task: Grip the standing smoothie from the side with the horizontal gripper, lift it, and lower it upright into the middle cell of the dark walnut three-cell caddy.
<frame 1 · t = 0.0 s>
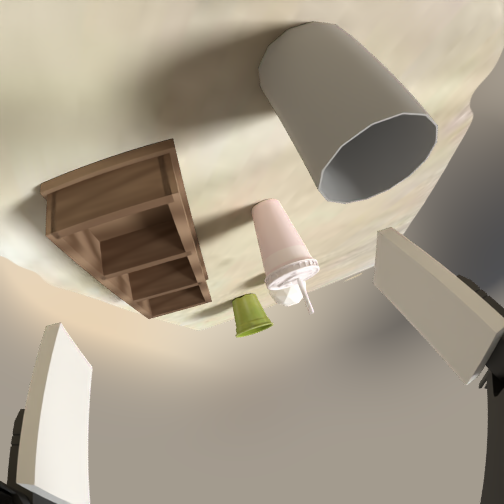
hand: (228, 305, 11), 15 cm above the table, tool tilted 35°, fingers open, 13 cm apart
caddy: (148, 243, 36), on the table
smoothie: (265, 206, 38), on the table
geometric ball: (281, 270, 64), on the table
cup: (309, 65, 20), on the table
plant pot: (243, 297, 75), on the table
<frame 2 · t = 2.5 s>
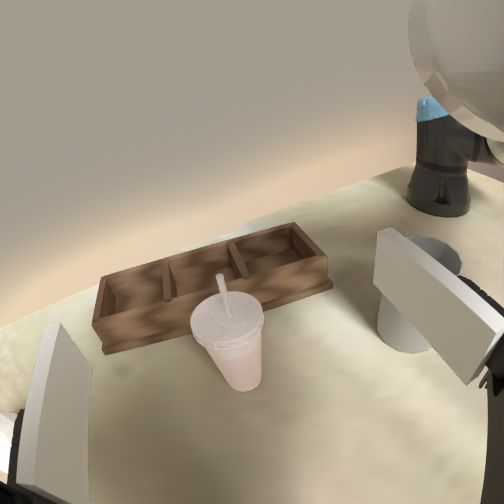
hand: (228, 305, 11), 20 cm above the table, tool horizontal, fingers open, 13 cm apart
caddy: (210, 297, 43), on the table
smoothie: (244, 378, 31), on the table
geometric ball: (31, 459, 21), on the table
cup: (409, 327, 32), on the table
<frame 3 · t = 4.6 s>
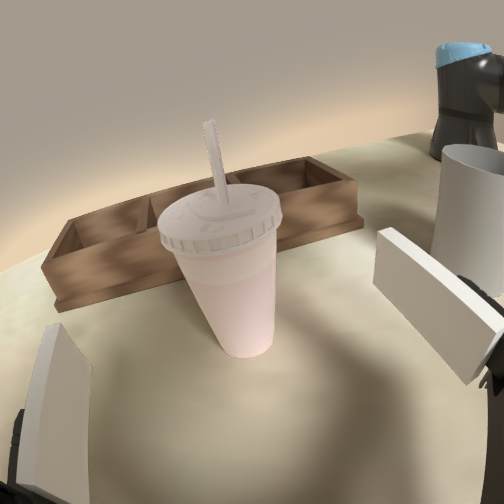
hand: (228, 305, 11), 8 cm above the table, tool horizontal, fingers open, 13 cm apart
caddy: (201, 241, 33), on the table
smoothie: (247, 339, 20), on the table
cup: (469, 270, 22), on the table
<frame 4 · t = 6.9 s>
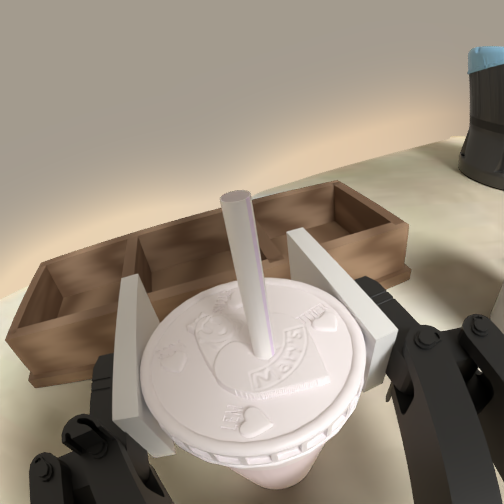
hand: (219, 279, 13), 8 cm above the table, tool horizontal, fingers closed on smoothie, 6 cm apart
caddy: (206, 296, 25), on the table
smoothie: (277, 459, 13), on the table, touching gripper
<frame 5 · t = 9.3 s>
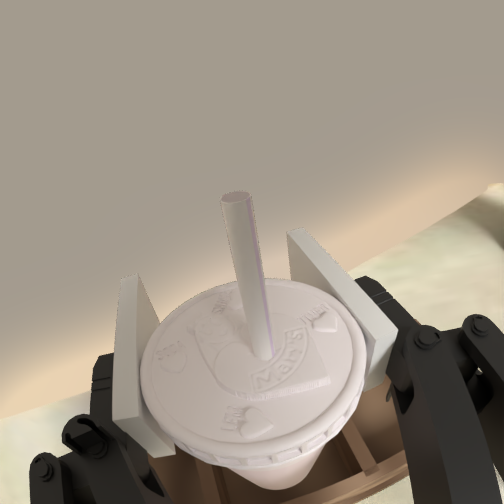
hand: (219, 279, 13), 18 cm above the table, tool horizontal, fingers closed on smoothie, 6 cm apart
caddy: (279, 462, 20), on the table
smoothie: (277, 459, 13), point 9 cm above the table, touching gripper
when the fingers open (10 cm above the table, at t = 11.7 s): smoothie stays where it is, resting on caddy.
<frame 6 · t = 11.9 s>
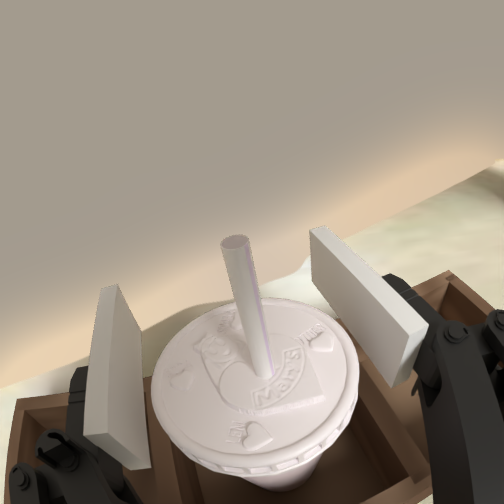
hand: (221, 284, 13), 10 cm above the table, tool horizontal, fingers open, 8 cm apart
caddy: (279, 467, 14), on the table
smoothie: (281, 463, 14), point 1 cm above the table, touching caddy
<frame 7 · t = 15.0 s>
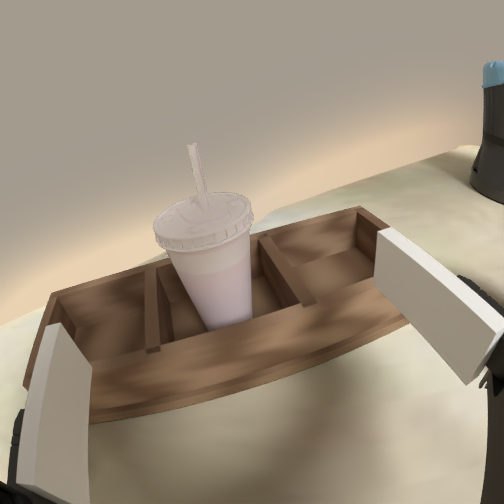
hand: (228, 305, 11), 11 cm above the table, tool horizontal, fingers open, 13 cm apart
caddy: (230, 330, 25), on the table
smoothie: (229, 323, 24), point 1 cm above the table, touching caddy
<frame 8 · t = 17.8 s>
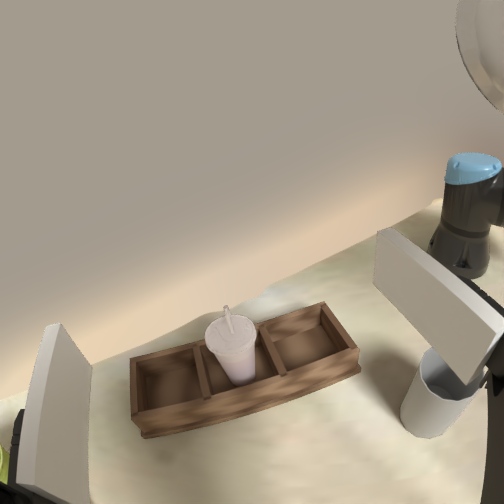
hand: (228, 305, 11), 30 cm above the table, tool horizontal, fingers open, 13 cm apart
caddy: (242, 379, 42), on the table
smoothie: (242, 376, 42), point 1 cm above the table, touching caddy
cup: (427, 412, 31), on the table
plant pot: (21, 483, 25), on the table
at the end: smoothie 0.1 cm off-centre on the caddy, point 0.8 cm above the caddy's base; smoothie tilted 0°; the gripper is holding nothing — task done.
